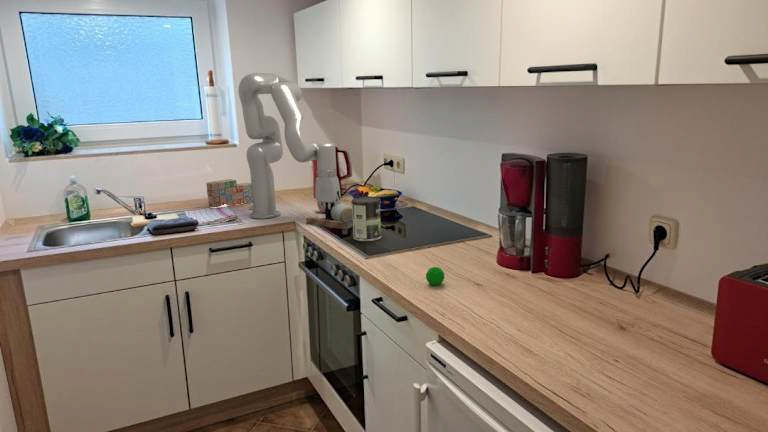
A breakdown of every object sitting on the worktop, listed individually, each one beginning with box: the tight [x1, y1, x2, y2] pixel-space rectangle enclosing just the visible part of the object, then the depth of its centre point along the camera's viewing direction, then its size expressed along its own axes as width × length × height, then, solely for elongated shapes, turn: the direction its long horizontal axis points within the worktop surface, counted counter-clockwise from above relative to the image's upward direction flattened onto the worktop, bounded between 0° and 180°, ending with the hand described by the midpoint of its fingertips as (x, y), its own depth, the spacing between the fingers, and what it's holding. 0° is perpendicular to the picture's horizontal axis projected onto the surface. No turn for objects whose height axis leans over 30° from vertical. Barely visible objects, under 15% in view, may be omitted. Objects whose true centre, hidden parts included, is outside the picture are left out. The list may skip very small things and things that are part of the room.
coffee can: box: [351, 196, 382, 242], centre depth 196 cm, size 10×10×14 cm
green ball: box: [425, 266, 445, 286], centre depth 149 cm, size 5×5×5 cm
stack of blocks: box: [206, 178, 253, 207], centre depth 262 cm, size 21×6×12 cm, turn 133°
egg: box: [317, 202, 332, 214], centre depth 239 cm, size 7×7×8 cm
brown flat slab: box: [305, 216, 353, 230], centre depth 222 cm, size 20×16×3 cm
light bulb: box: [331, 202, 353, 222], centre depth 220 cm, size 11×8×8 cm
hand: (329, 217), depth 224 cm, fingers closed
